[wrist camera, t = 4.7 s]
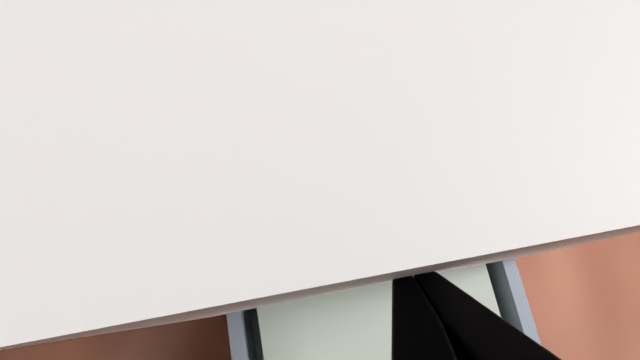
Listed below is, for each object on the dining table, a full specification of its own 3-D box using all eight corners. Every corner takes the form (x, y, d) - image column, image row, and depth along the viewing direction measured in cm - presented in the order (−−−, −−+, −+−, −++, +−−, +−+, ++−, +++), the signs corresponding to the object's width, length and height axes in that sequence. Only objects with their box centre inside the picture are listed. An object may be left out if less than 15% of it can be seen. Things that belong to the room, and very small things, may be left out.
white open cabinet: (504, 260, 15) (1018, 152, 4) (219, 315, 14) (-87, 363, 3) (414, -37, 19) (559, -518, 8) (182, -4, 18) (-23, -479, 7)
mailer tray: (519, 390, 14) (561, 408, 12) (257, 446, 14) (245, 477, 11) (429, 80, 17) (448, 45, 15) (215, 115, 17) (199, 84, 14)
